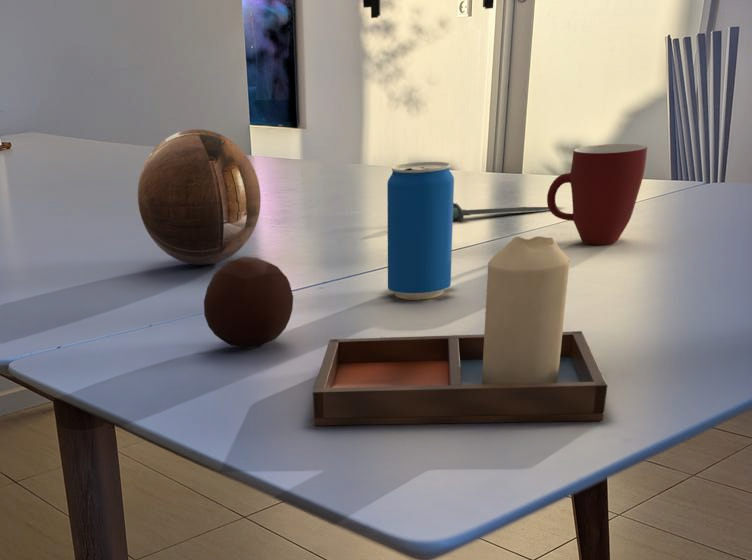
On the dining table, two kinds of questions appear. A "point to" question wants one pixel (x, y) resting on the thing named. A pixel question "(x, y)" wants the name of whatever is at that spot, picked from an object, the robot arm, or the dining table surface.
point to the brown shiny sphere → (199, 197)
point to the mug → (602, 190)
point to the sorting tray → (448, 384)
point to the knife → (491, 211)
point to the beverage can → (420, 229)
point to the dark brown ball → (248, 302)
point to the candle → (525, 312)
